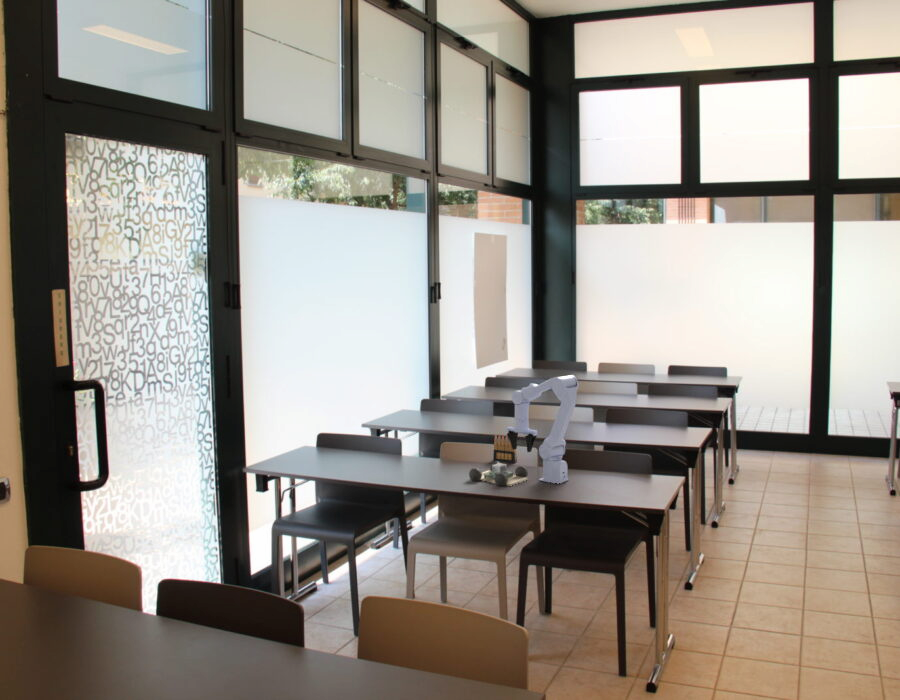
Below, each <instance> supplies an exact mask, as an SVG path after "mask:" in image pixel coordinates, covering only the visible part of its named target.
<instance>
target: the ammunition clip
mask: <svg viewBox="0 0 900 700" xmlns="http://www.w3.org/2000/svg"><path fill="white" fill-rule="evenodd" d="M497 436H498V437H497ZM517 459H518V458H517V449H514V450H513V449H512V445H511V442H510V440H509V438H508V436H507V434H506V436H505V435H504V434H503V435H502V437H501V435H500V434H498V435H497V434H496V433H495V435H494V441H493V459H492V460H493V461H492V462H496V461H498V462H500V463H507V464H516V463H517V461H518V460H517Z"/></svg>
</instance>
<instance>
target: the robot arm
mask: <svg viewBox="0 0 900 700" xmlns="http://www.w3.org/2000/svg"><path fill="white" fill-rule="evenodd" d="M579 387H580V384H579V381H578V379H577V377H576V376H575V375H574V374H567V375H563V376H562V375H561V376H554V377H551V378H549V379H547V380H544V381H543V382H541V383H539V384H537V383H533V382H532V383H529V384H528V386H526V387H524V386H523V387H522V388H521V389H520V390H514V391H513V392H512V394H511V401H512V403H513V404H514V426H507V427H506V429H505V430H506V432H507V433H506V435H507V437H508V441H509V440H510V442H511V445H512V449H513V450H514V449H516V450H517V447H518V437H519V434H524V435H525V436H524V437H525V440H526V452H527V453H530V452H531V453H532V449H533V447H534V443H535V441H536V439H537V437H538V430H536V429H532V428H530V426H529V423H530V422H529V419H530V418H529V408H530V403H531V401H533V400H535V399H537V398H539V397H541V395H542V393H543V392H546V391H549V390H551V391H552V392H553V393H554V395H555V396H556V398H557V399H558V400H559V401H560V405H559V408H558V411H557V414H556V416H555V418H554V422H553V425H552V426H551V427H552V428H551V430H550V433H549V435H548V436H547V437H546V438H545V439H544V440H543V442H542V444H540V445H539V446H538V453H539V456H540V458H541V460H542V477H541V478H539V479H538V481H541V482H546V483H550V482H551V483H550V484H555V483H557V484H556V485H559V483H560V484H562V483H564V482H567V481H569V478H568V477H569V476H568V473H569V472H568V463H567V461H566V460H563V456H564V455H565V453H566V445H567V442H566V440H565V439H564V437H565V435H566V432H567V429H568V426H569V424H570V421H571V418H572V414H573V413H574V410H575V408H576V404H577V395H578V389H579Z"/></svg>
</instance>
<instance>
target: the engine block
mask: <svg viewBox="0 0 900 700" xmlns="http://www.w3.org/2000/svg"><path fill="white" fill-rule="evenodd" d="M507 471H508V463H503V462H500V463H497V464H494V465H492V475H497V474H500V473H504V474H507Z"/></svg>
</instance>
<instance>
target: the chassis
mask: <svg viewBox="0 0 900 700" xmlns="http://www.w3.org/2000/svg"><path fill="white" fill-rule="evenodd" d="M497 463H501V462H499V461H492V462H491V463H490V466H489V468H490V469H489V470H486V471H483V472H482V471H481V469H480V468H478V467H475V468H472V469H470V470H469V473H468V476H469V479H470V478H471V479H470V480H471V481H473V480H474V481H473V482H478V481H479V480H483V481H482V482H484V481H487V482H486V483H489V482H492V483H491V484H494V483H496V484H495V485H497V486H498V485H500V486H499V487H504V485H506V487H509V486H511V487H513V486H515V484H516V485H518V483H519V484H521V483H524V482H526V480H527V481H528V476H529V471H528V470H529V469H528V468H527V467H526V466H525V465H521V466H520V465H519V466H518V467H516V469H515V473H514V472H512V471H508V470H507V474H504V473H500V474H497V475H492V465H494V464H497ZM514 474H515V475H514ZM477 480H478V481H477ZM523 481H524V482H523ZM512 485H513V486H512Z"/></svg>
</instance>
